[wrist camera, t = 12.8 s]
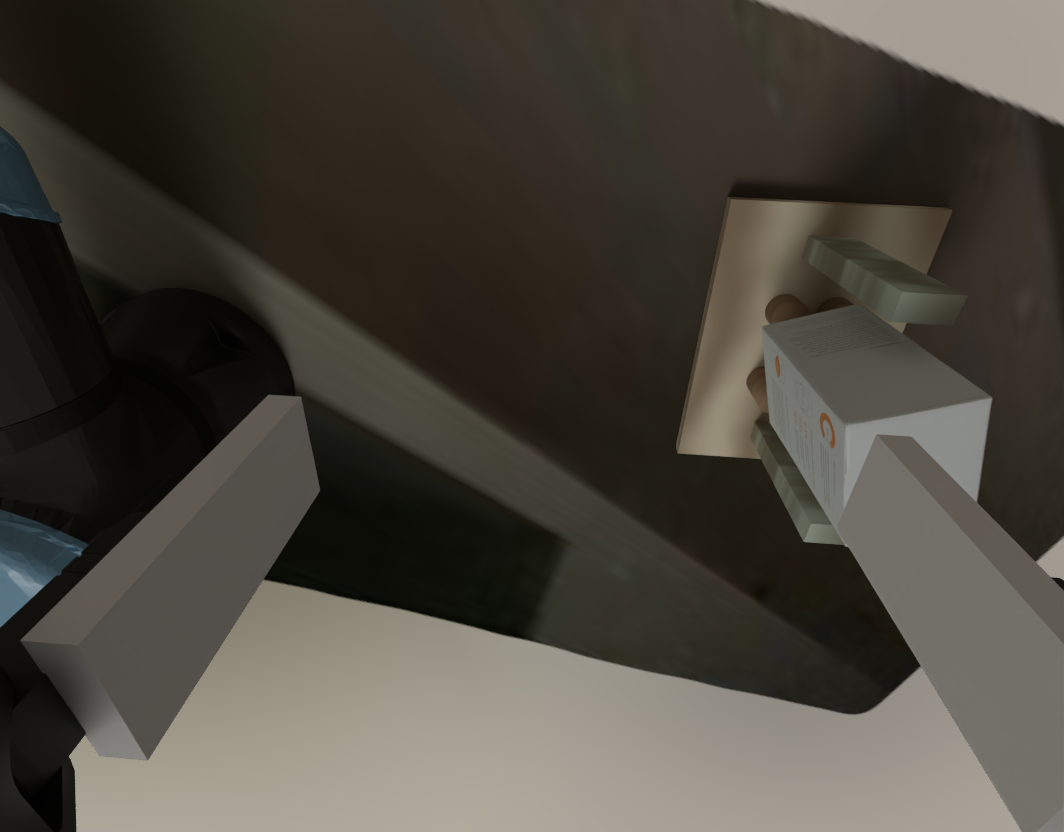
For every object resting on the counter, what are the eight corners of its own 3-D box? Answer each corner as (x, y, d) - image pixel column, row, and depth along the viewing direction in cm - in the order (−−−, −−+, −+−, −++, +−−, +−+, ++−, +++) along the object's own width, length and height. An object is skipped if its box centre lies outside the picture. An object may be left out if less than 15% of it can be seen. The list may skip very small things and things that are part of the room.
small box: (860, 405, 39) (977, 531, 28) (768, 423, 40) (843, 551, 29) (862, 299, 35) (997, 395, 24) (759, 323, 36) (842, 425, 25)
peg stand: (675, 446, 46) (708, 558, 35) (727, 196, 36) (796, 242, 25) (843, 457, 46) (930, 574, 35) (943, 207, 36) (1112, 259, 24)
